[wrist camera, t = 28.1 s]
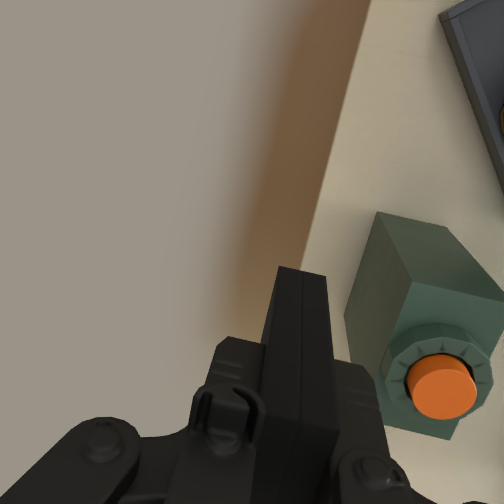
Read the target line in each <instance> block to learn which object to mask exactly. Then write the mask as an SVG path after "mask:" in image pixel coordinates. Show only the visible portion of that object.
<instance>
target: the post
mask: <svg viewBox="0 0 504 504" xmlns="http://www.w3.org/2000/svg"><path fill="white" fill-rule="evenodd" d="M344 319H345V326H346V332H347V339H348V345H349V352H350V359H351V363H353V364H358V365H362V366H364V368H365V369H366V370H367V372H368V373H369V374H370V376H371V377H372V378H373V380H374V383H375V388H376V392H377V398H378V402H379V406H380V409H379V411H381V416H382V420H383V425H387V426H391V427H395V428H400V429H404V430H408V431H412V432H416V433H420V434H425V435H429V436H433V437H437V438H441V439H445V440H450V439H451V437H452V435H453V433H454V431H455V428H456V426H457V424H458V422H459V420H460V419H462V418H464V417H465V416H467V415H468V414H470V413H471V412H473V411H474V410H476V409H477V408H479V407H480V406H482V405H483V404H484V402H485V400H486V398H487V396H488V394H489V392H490V390H491V388H492V386H493V384H494V378H493V373H492V367H491V362H490V357H491V355H492V353H493V351H494V348H495V346H496V344H497V342H498V340H499V338H500V336H501V334H502V332H503V330H504V292H503V290H502V289H501V288H500V287H499V286H498V285H497V284H496V283H495V281H494V280H493V279H492V278H491V277H490V276H489V275H488V274H487V272H486V271H485V270H484V269H483V268H482V267H481V266H480V264H479V263H478V262H477V261H476V260H475V259H474V258H473V257H472V255H471V254H470V253H469V252H468V251H467V250H466V249H465V248H464V246H463V245H462V244H461V243H460V242H459V241H458V240H457V239H456V237H455V236H454V235H453V234H452V233H451V232H450V231H449V230H448V228H447V227H443V226H438V225H434V224H430V223H425V222H421V221H417V220H412V219H408V218H403V217H399V216H395V215H390V214H386V213H382V212H377V214H376V217H375V220H374V223H373V226H372V229H371V232H370V235H369V238H368V241H367V245H366V248H365V251H364V254H363V257H362V260H361V263H360V266H359V269H358V272H357V275H356V278H355V281H354V285H353V288H352V291H351V294H350V297H349V300H348V303H347V306H346V309H345V312H344ZM434 354H445V355H450V356H453V357H455V358H457V359H458V360H460V361H461V362H462V363H463V364H464V365H465V367H466V369H467V370H468V372H469V374H470V376H471V378H472V380H473V382H474V384H475V386H476V390H477V396H476V400H475V402H474V404H473V406H472V407H471V408H470V409H469V410H468V411H467V412H465V413H464V414H462V415H460V416H458V417H455V418H452V419H444V420H441V419H434V418H430V417H428V416H426V415H424V414H422V413H421V412H420V411H419V410H418V409H417V408H416V407H415V405H414V402H413V400H412V396H411V393H410V390H409V387H408V383H407V377H408V373H409V371H410V369H411V367H412V366H413V365H414V364H415V363H416V362H417V361H418V360H420V359H422V358H424V357H426V356H429V355H434Z"/></svg>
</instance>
